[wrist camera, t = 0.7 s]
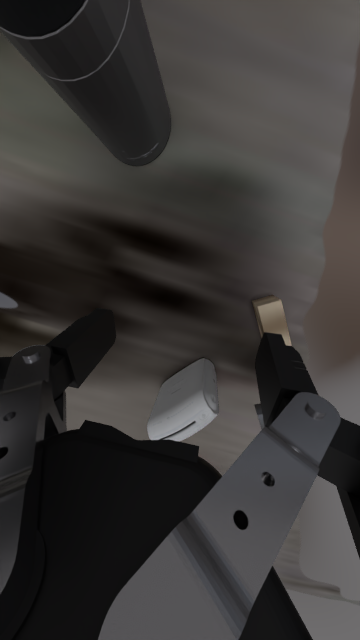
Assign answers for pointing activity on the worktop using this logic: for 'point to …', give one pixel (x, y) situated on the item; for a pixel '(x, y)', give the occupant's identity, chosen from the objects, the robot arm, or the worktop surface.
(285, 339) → the retention stand
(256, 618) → the robot arm
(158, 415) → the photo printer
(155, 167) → the worktop surface
